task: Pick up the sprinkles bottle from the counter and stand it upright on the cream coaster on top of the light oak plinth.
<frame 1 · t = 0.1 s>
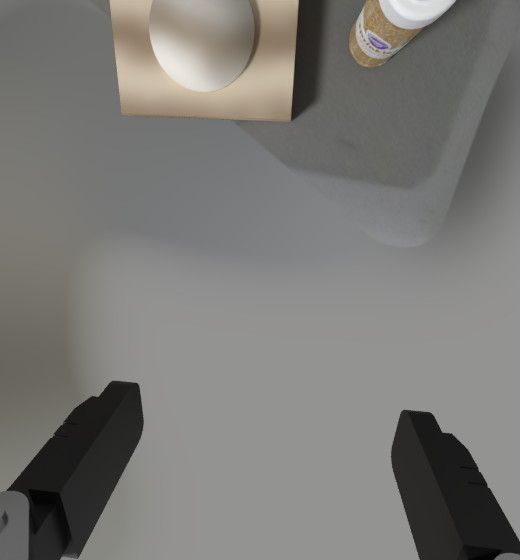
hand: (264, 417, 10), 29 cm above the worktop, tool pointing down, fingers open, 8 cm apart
sprinkles bottle: (373, 40, 31), on the worktop
plinth: (210, 42, 32), on the worktop
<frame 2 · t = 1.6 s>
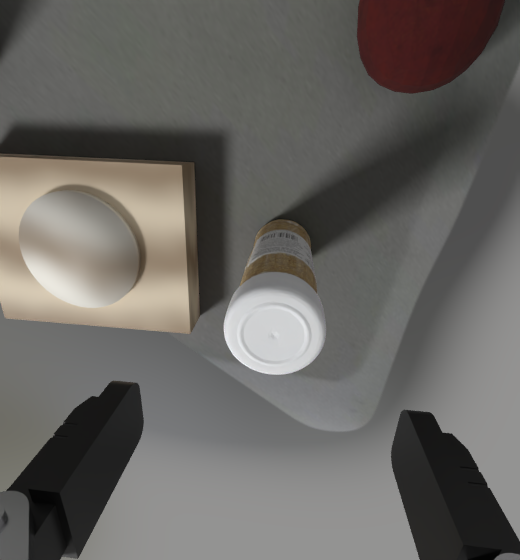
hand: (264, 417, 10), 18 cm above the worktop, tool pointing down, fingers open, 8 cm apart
sprinkles bottle: (283, 244, 27), on the worktop
plinth: (103, 240, 28), on the worktop
potato: (412, 18, 21), on the worktop
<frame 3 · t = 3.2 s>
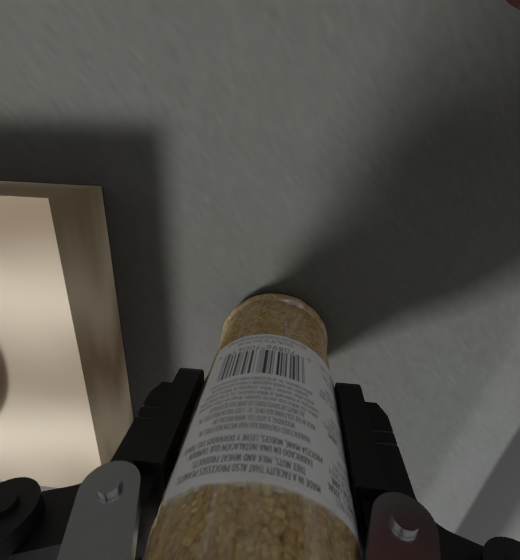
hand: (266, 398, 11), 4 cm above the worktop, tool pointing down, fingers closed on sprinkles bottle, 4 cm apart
sprinkles bottle: (275, 334, 15), on the worktop, touching gripper
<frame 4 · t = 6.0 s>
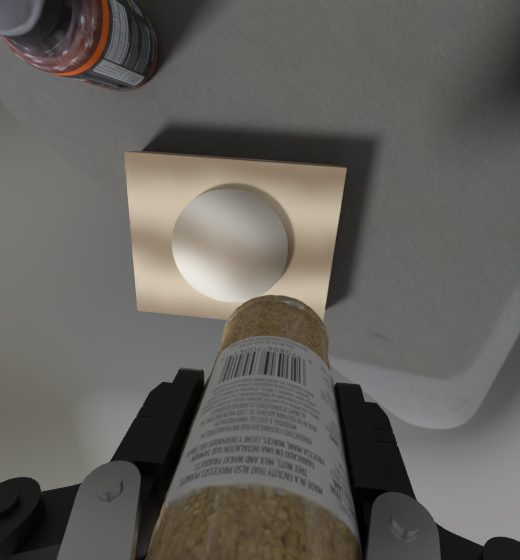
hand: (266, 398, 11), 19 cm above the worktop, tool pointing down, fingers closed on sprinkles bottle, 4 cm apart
sprinkles bottle: (276, 335, 15), point 15 cm above the worktop, touching gripper
plinth: (236, 237, 29), on the worktop
supplement bottle: (122, 48, 25), on the worktop
when the fingers open (8 cm above the worktop, at t = 8.7 s): sprinkles bottle stays where it is, resting on plinth.
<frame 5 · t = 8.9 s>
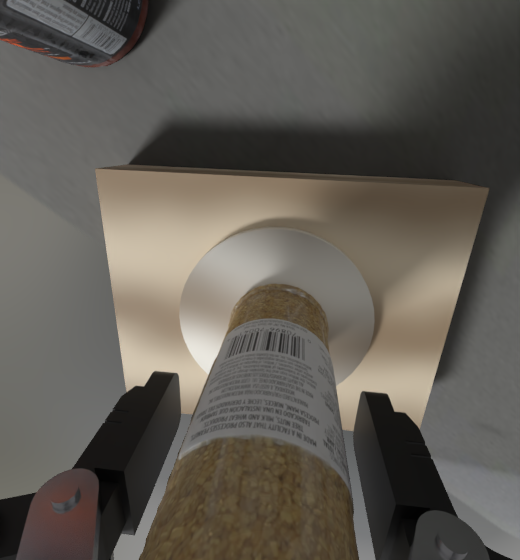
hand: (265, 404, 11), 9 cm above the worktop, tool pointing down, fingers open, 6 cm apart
sprinkles bottle: (279, 323, 16), point 3 cm above the worktop, touching plinth
plinth: (277, 293, 19), on the worktop
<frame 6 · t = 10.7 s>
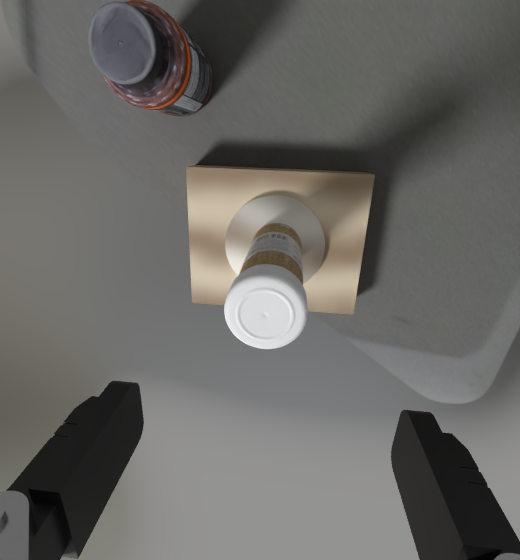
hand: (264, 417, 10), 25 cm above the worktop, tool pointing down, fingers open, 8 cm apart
sprinkles bottle: (277, 245, 30), point 3 cm above the worktop, touching plinth
plinth: (276, 236, 34), on the worktop
supplement bottle: (182, 80, 30), on the worktop
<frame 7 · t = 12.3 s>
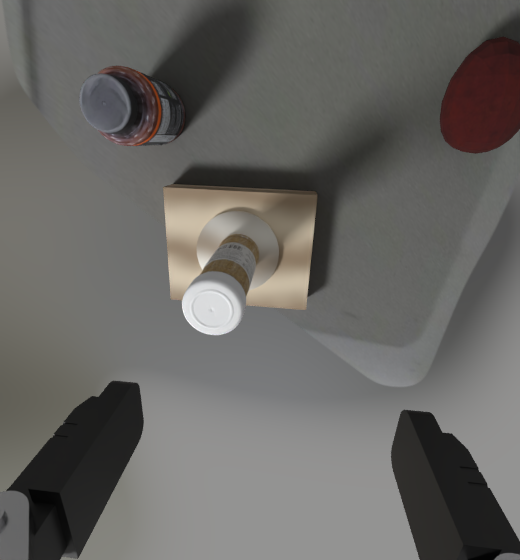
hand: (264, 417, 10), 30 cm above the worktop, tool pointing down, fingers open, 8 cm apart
sprinkles bottle: (239, 252, 37), point 3 cm above the worktop, touching plinth
plinth: (242, 244, 40), on the worktop
potato: (470, 103, 33), on the worktop
supplement bottle: (160, 114, 35), on the worktop
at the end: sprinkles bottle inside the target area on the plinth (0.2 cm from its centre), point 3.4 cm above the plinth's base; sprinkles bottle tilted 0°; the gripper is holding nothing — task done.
